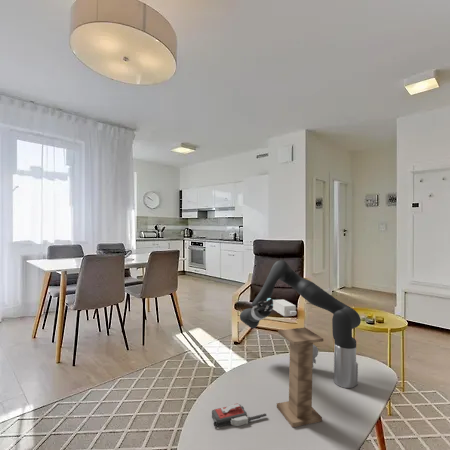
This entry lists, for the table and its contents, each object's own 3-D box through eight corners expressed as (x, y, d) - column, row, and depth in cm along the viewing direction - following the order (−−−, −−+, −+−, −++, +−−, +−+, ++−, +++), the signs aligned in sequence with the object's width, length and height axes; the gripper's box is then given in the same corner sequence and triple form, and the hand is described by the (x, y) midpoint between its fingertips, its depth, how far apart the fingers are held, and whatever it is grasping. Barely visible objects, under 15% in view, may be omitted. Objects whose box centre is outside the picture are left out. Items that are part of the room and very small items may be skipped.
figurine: (312, 364, 154) (312, 340, 154) (320, 371, 146) (321, 346, 146) (297, 366, 152) (298, 342, 151) (305, 373, 144) (306, 348, 144)
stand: (303, 402, 121) (305, 327, 120) (321, 421, 109) (323, 338, 109) (276, 407, 117) (278, 330, 117) (292, 427, 106) (294, 342, 105)
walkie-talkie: (216, 433, 103) (267, 420, 110) (216, 420, 103) (268, 408, 110) (208, 417, 111) (256, 406, 118) (208, 405, 111) (256, 395, 118)
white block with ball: (273, 302, 140) (273, 294, 140) (299, 317, 118) (299, 307, 118) (263, 303, 138) (263, 294, 138) (288, 318, 116) (288, 308, 116)
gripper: (246, 304, 146) (259, 293, 132) (272, 302, 151) (287, 291, 136) (248, 319, 143) (262, 310, 129) (275, 317, 147) (291, 308, 133)
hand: (275, 300), depth 132 cm, fingers closed on white block with ball, 2 cm apart
